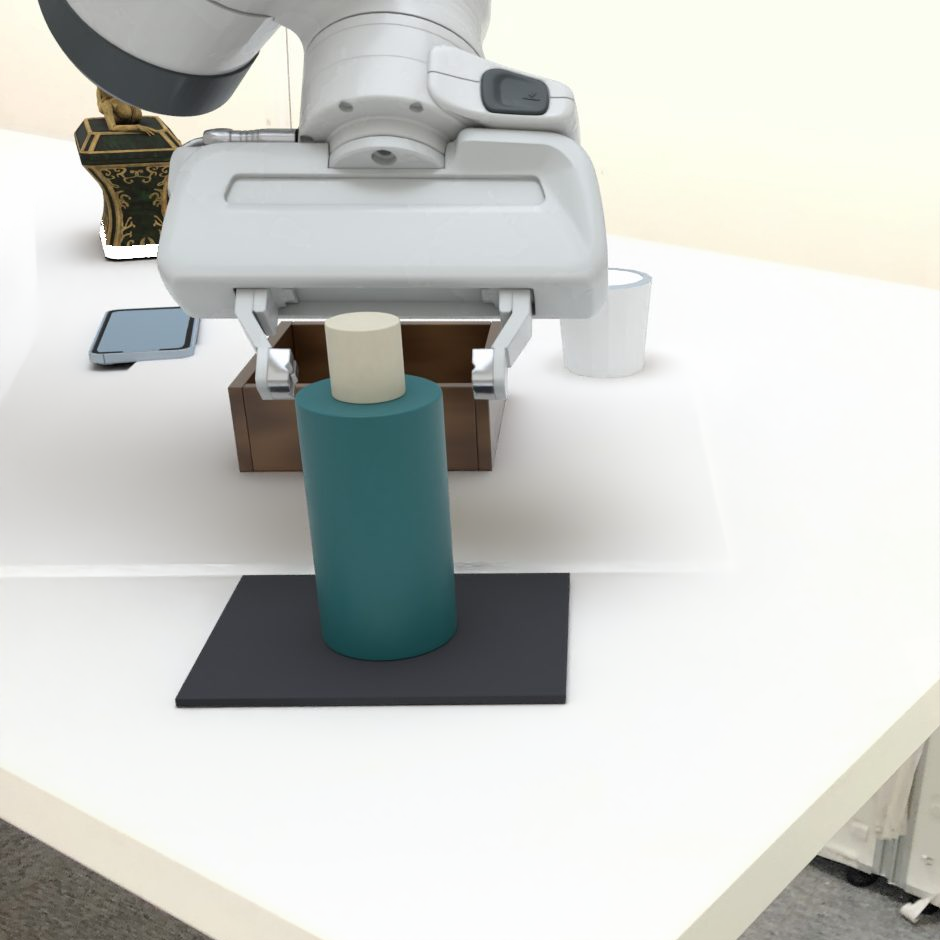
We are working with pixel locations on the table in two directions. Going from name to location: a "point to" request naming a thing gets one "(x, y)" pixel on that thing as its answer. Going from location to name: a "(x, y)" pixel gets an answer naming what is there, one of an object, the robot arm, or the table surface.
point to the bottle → (377, 496)
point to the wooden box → (424, 355)
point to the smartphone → (144, 335)
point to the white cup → (611, 330)
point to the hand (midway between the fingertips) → (383, 394)
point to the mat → (386, 682)
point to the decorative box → (128, 169)
